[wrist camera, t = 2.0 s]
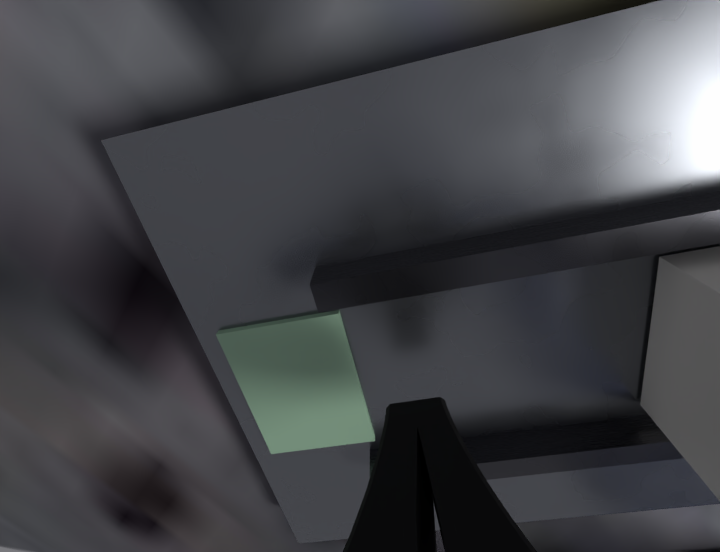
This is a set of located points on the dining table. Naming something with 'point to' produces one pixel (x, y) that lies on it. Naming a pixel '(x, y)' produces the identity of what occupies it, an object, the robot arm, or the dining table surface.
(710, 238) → the breaker panel
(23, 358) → the dining table surface
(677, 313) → the switch handle
